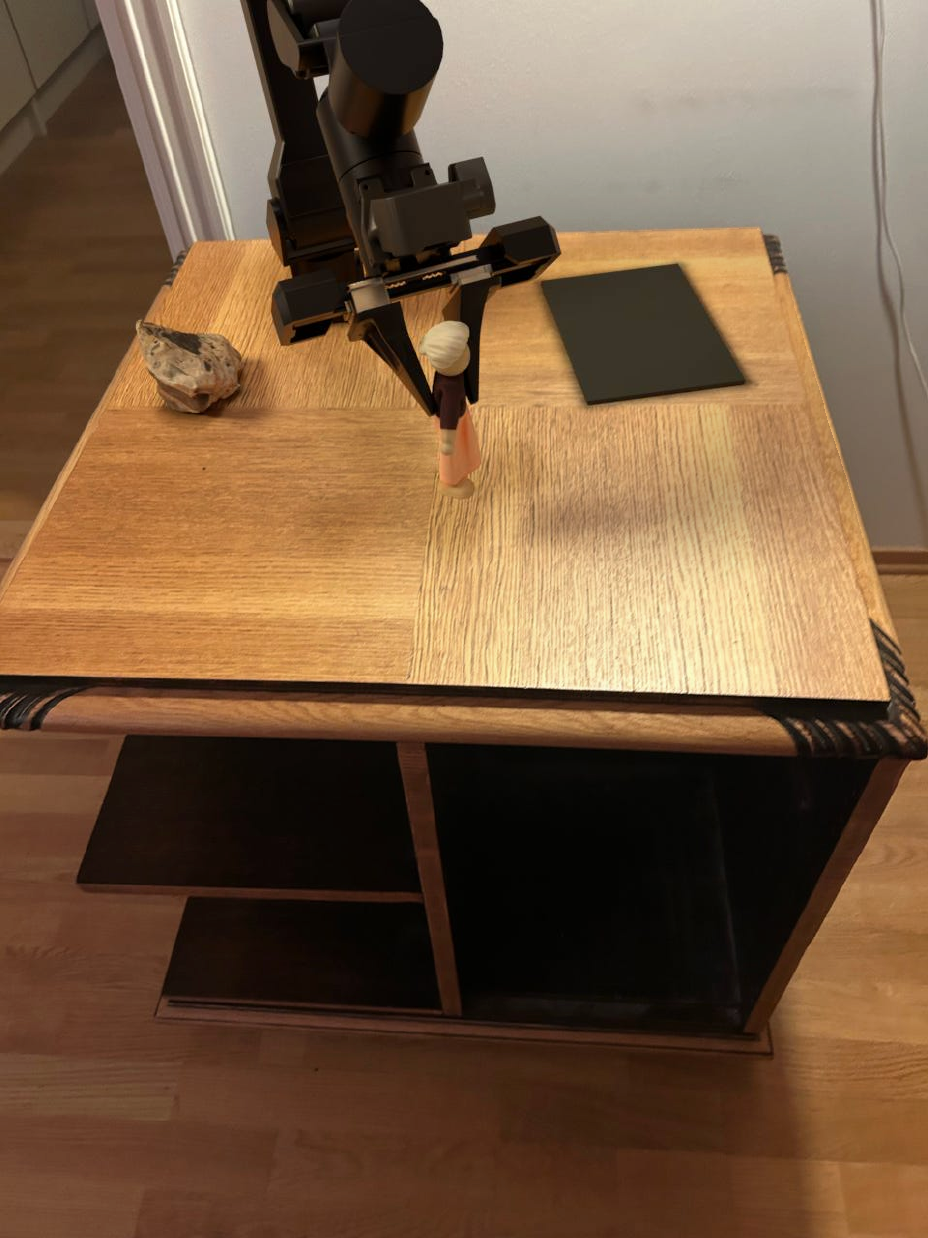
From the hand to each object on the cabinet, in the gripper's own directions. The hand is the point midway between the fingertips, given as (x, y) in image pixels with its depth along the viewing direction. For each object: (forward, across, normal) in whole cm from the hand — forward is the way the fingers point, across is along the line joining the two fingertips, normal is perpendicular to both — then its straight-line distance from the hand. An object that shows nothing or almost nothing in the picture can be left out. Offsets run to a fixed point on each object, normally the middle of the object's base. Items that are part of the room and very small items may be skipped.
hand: (453, 409), depth 61 cm
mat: (-4, +25, +21) cm, 33 cm away
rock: (-10, -14, +27) cm, 32 cm away
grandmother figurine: (+4, 0, +6) cm, 7 cm away
